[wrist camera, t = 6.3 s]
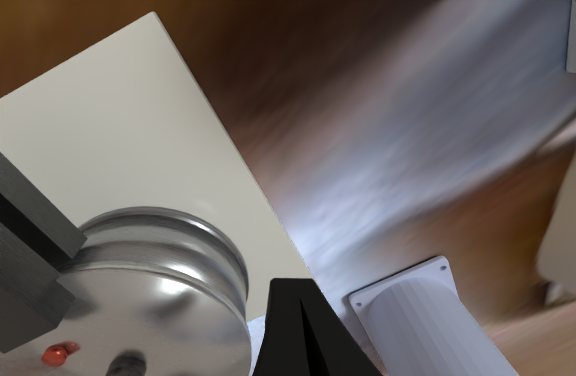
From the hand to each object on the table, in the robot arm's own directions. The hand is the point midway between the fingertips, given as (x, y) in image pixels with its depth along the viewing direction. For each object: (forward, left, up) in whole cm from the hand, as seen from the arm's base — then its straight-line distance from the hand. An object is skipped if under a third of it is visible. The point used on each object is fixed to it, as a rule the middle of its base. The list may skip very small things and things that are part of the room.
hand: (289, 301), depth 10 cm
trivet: (0, +9, -10) cm, 14 cm away
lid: (-2, +10, -5) cm, 12 cm away
